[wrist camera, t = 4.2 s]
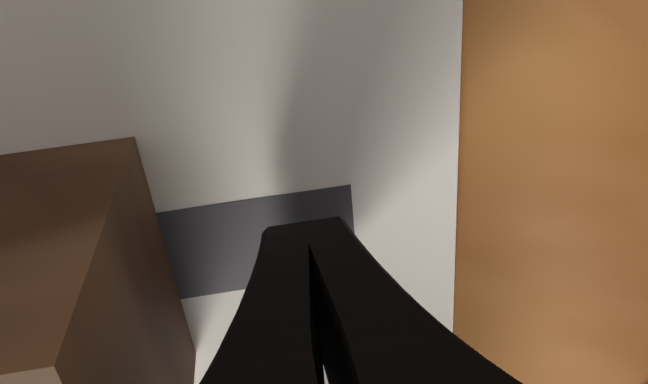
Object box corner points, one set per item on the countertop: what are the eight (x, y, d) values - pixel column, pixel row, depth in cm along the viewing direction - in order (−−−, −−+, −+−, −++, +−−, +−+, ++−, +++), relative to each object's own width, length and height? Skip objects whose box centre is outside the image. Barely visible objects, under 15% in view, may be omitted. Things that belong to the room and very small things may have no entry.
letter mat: (461, -324, 8) (473, -332, 7) (444, 455, 16) (448, 469, 15) (-954, -200, 6) (-1025, -203, 6) (-181, 568, 15) (-192, 586, 14)
